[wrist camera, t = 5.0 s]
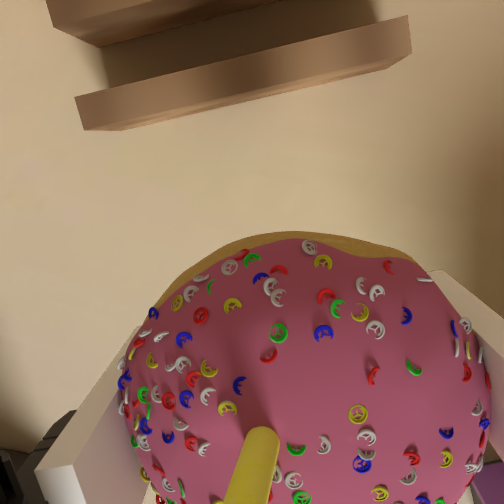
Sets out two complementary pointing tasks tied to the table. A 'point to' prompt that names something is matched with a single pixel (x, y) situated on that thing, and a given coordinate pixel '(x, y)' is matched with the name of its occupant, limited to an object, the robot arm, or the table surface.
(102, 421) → the robot arm
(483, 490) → the cereal box
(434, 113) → the table surface
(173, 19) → the rail
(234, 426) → the cupcake
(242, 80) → the brown flat block
